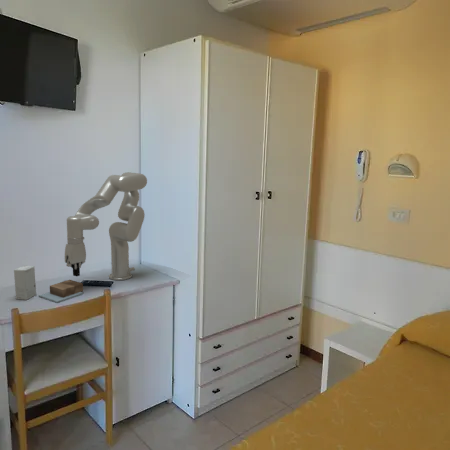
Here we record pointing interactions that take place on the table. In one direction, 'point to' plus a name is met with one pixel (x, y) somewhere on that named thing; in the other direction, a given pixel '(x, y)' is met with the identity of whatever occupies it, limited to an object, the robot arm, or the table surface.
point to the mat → (57, 298)
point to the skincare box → (25, 282)
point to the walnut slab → (66, 288)
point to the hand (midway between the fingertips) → (76, 275)
